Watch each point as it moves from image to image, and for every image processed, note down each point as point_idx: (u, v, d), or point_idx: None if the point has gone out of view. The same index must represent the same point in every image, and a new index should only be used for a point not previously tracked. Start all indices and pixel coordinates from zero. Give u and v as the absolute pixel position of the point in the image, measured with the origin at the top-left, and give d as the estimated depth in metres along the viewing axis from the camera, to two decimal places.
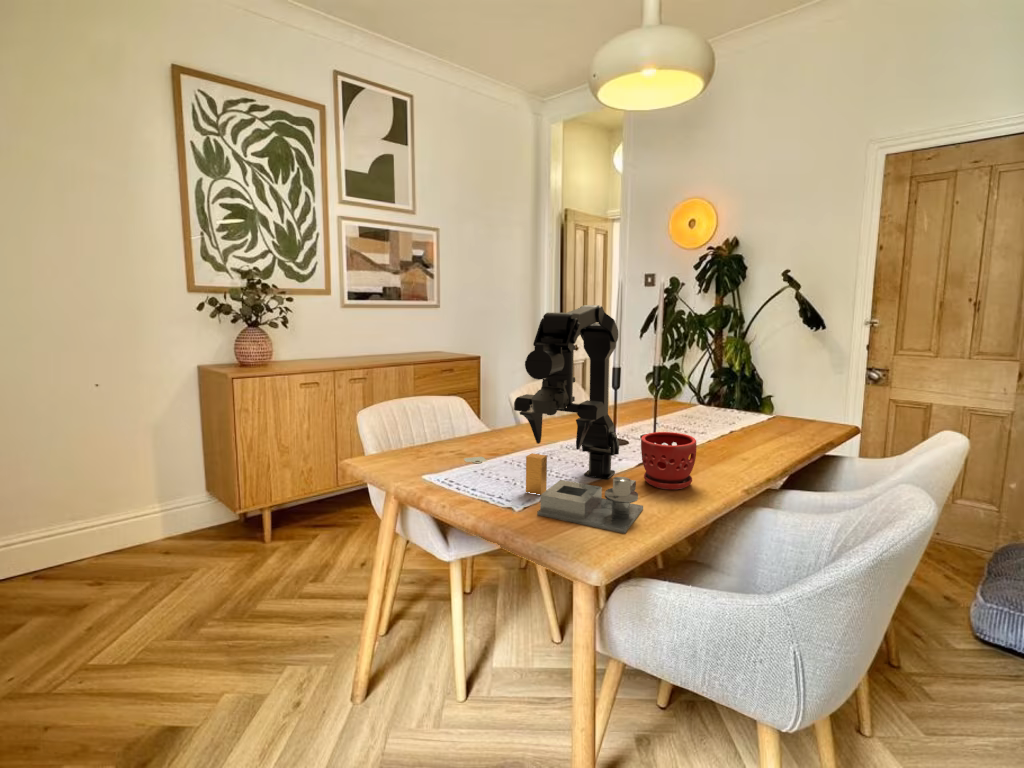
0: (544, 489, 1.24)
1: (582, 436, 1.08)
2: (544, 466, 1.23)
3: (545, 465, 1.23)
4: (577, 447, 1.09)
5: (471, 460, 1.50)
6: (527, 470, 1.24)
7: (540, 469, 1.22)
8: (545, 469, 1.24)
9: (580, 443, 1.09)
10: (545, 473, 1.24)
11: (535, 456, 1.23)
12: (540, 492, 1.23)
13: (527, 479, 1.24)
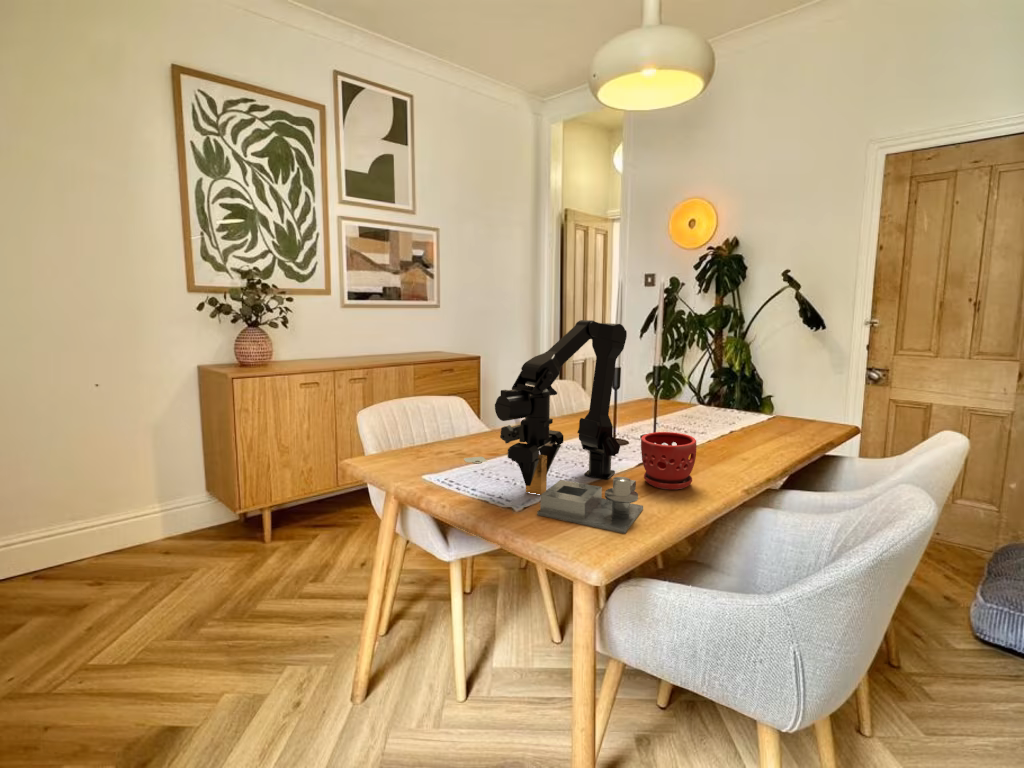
0: (544, 489, 1.24)
1: (524, 474, 1.19)
2: (544, 466, 1.23)
3: (545, 465, 1.23)
4: None
5: (471, 460, 1.50)
6: None
7: (540, 469, 1.22)
8: (545, 469, 1.24)
9: (526, 480, 1.20)
10: (545, 473, 1.24)
11: None
12: (540, 492, 1.23)
13: None
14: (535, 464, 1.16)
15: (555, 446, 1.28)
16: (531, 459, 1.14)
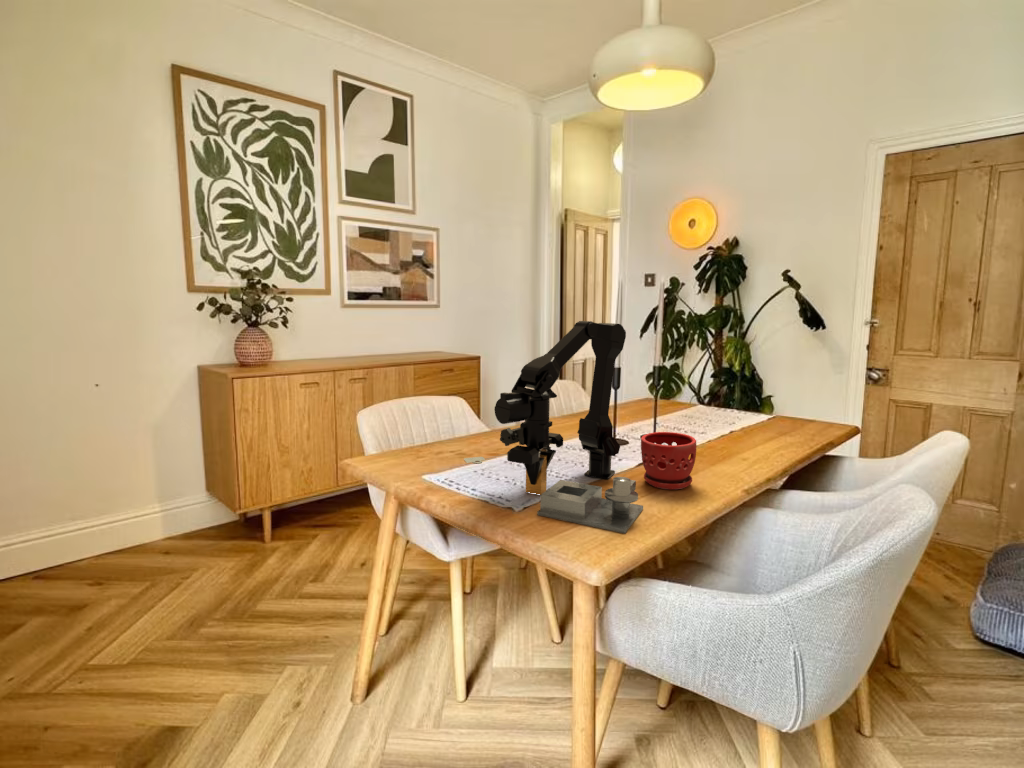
0: (544, 489, 1.24)
1: (529, 473, 1.22)
2: (544, 466, 1.23)
3: (545, 465, 1.23)
4: None
5: (471, 460, 1.50)
6: None
7: None
8: (545, 469, 1.24)
9: (531, 479, 1.22)
10: (545, 473, 1.24)
11: None
12: (540, 492, 1.23)
13: (527, 479, 1.24)
14: (540, 463, 1.19)
15: (550, 452, 1.25)
16: (531, 462, 1.14)
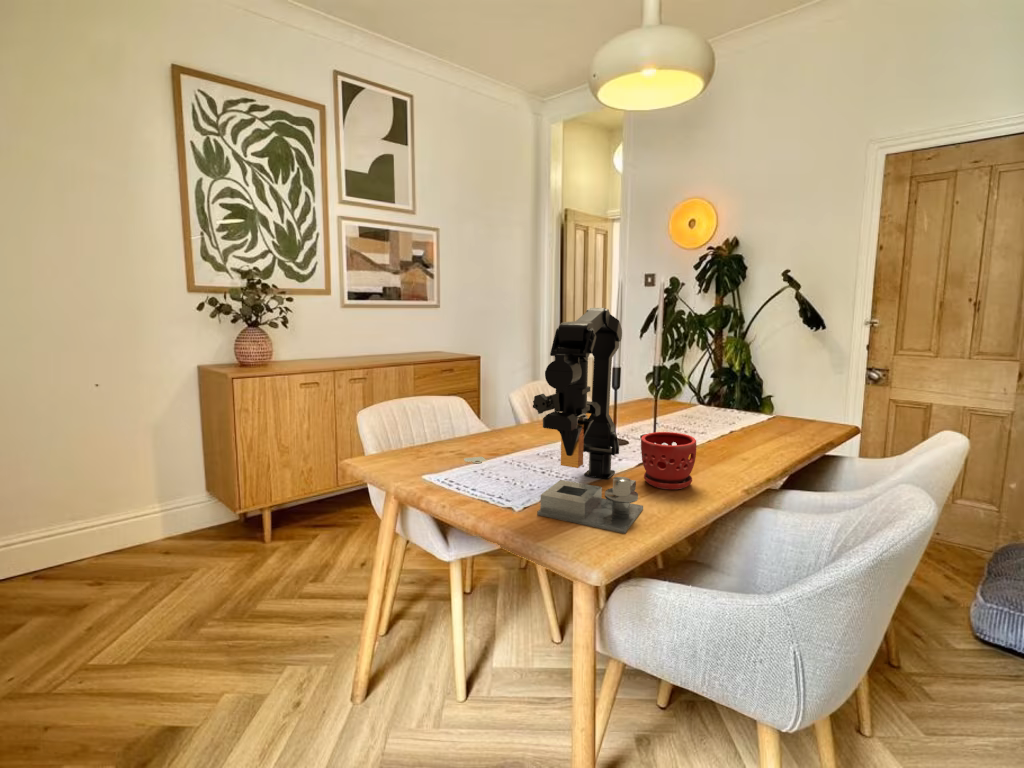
0: (581, 461, 1.13)
1: (566, 443, 1.11)
2: (581, 435, 1.12)
3: (582, 434, 1.13)
4: None
5: (471, 460, 1.50)
6: (562, 440, 1.13)
7: None
8: (582, 439, 1.13)
9: (567, 449, 1.12)
10: (582, 443, 1.13)
11: None
12: (577, 464, 1.12)
13: (562, 450, 1.13)
14: (578, 431, 1.08)
15: (587, 420, 1.14)
16: (570, 428, 1.03)
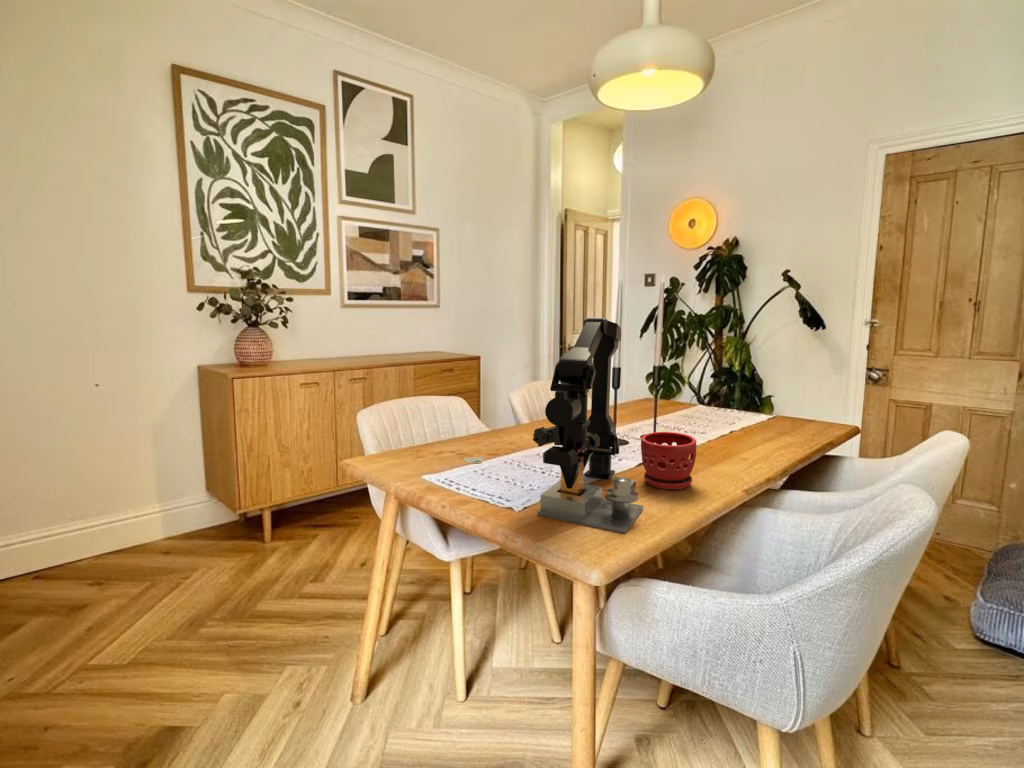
0: (581, 493, 1.14)
1: (566, 476, 1.12)
2: (581, 468, 1.13)
3: (581, 467, 1.14)
4: None
5: (471, 460, 1.50)
6: None
7: None
8: (582, 471, 1.14)
9: (567, 482, 1.13)
10: (582, 476, 1.14)
11: None
12: None
13: (562, 482, 1.14)
14: (578, 465, 1.09)
15: (587, 453, 1.15)
16: (570, 464, 1.04)
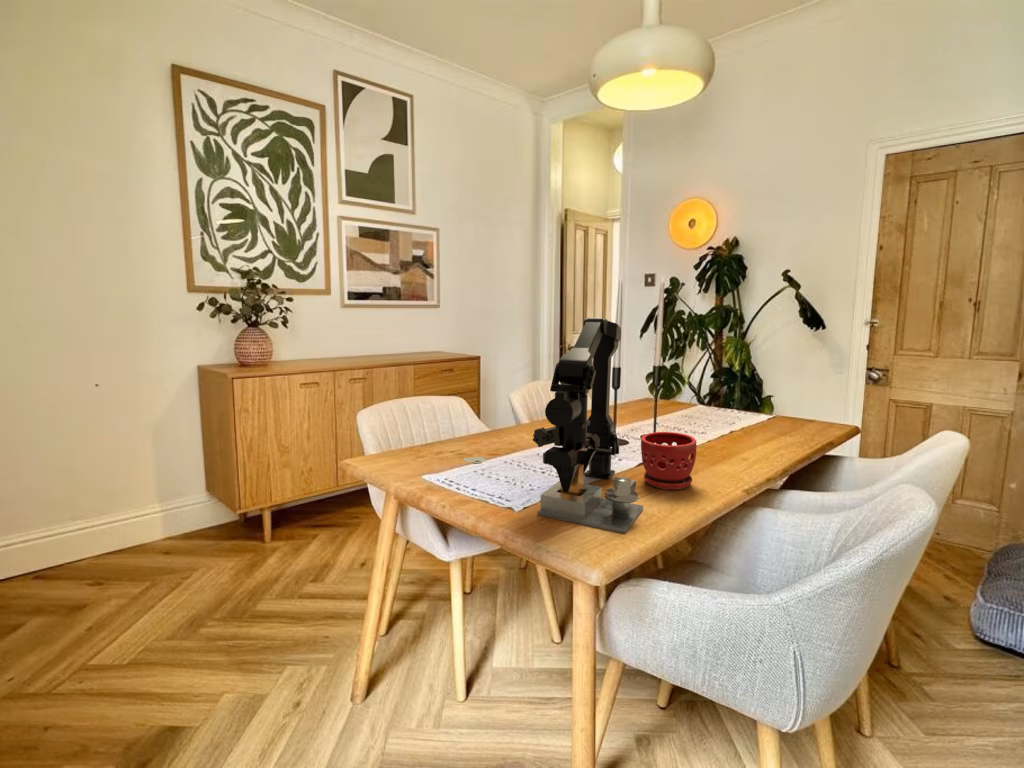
0: None
1: (562, 479, 1.10)
2: (581, 476, 1.14)
3: (581, 475, 1.14)
4: None
5: (471, 460, 1.50)
6: None
7: (577, 479, 1.12)
8: (582, 479, 1.14)
9: (563, 485, 1.11)
10: (581, 483, 1.15)
11: None
12: None
13: (562, 490, 1.14)
14: (574, 468, 1.07)
15: (590, 451, 1.17)
16: (570, 465, 1.04)
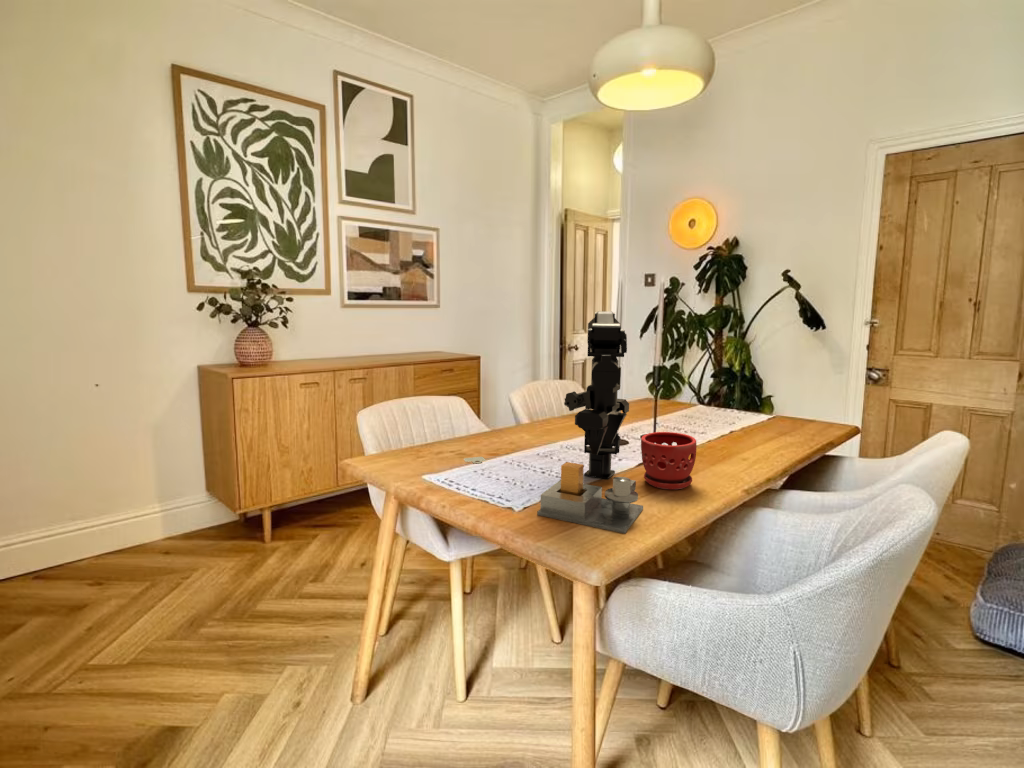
0: None
1: (591, 442, 1.13)
2: (581, 476, 1.14)
3: (581, 475, 1.14)
4: None
5: (471, 460, 1.50)
6: (562, 480, 1.14)
7: (577, 479, 1.12)
8: (582, 479, 1.14)
9: (593, 448, 1.14)
10: (581, 483, 1.15)
11: (571, 465, 1.14)
12: None
13: (562, 490, 1.14)
14: (604, 431, 1.10)
15: (621, 414, 1.21)
16: (601, 425, 1.08)
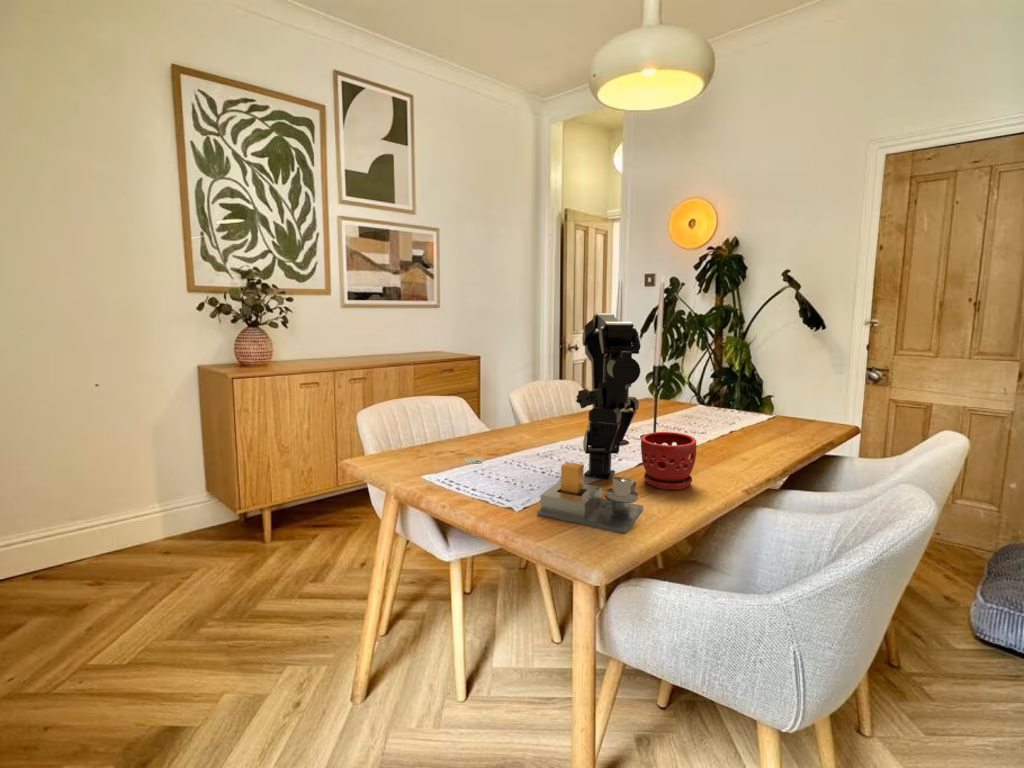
0: None
1: (604, 438, 1.14)
2: (581, 476, 1.14)
3: (581, 475, 1.14)
4: None
5: (471, 460, 1.50)
6: (562, 480, 1.14)
7: (577, 479, 1.12)
8: (582, 479, 1.14)
9: (605, 444, 1.15)
10: (581, 483, 1.15)
11: (571, 465, 1.14)
12: None
13: (562, 490, 1.14)
14: (617, 427, 1.11)
15: (631, 412, 1.23)
16: (615, 421, 1.09)
